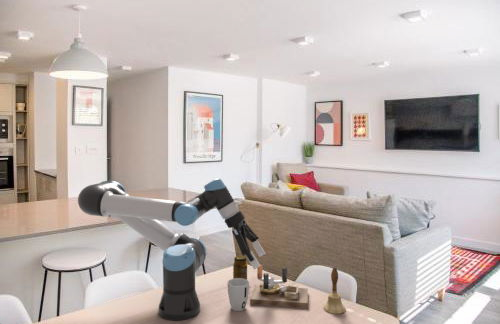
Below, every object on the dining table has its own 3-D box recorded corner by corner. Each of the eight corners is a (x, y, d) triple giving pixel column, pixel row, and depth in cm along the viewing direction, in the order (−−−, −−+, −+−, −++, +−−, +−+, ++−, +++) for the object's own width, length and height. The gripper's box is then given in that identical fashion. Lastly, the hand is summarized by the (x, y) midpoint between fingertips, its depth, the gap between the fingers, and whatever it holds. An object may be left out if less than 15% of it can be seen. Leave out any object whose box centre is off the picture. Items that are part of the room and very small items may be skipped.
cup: (246, 313, 143) (246, 287, 142) (224, 311, 145) (225, 285, 144) (250, 304, 151) (250, 279, 150) (230, 302, 153) (230, 277, 152)
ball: (278, 294, 155) (278, 286, 155) (279, 291, 158) (279, 283, 158) (286, 295, 154) (286, 287, 154) (287, 292, 158) (287, 284, 157)
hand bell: (321, 311, 145) (322, 269, 144) (325, 302, 153) (326, 262, 152) (343, 315, 142) (345, 273, 141) (347, 306, 150) (348, 265, 149)
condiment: (246, 280, 175) (246, 254, 174) (250, 288, 167) (250, 260, 166) (230, 282, 173) (230, 255, 172) (233, 289, 165) (233, 261, 164)
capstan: (289, 299, 150) (289, 275, 150) (258, 299, 150) (258, 275, 149) (285, 286, 163) (285, 263, 162) (257, 286, 163) (257, 264, 162)
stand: (250, 304, 151) (250, 293, 151) (254, 289, 165) (254, 279, 165) (307, 308, 148) (307, 296, 148) (307, 293, 162) (307, 282, 161)
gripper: (232, 217, 140) (263, 268, 140) (245, 203, 165) (272, 246, 165) (215, 227, 142) (246, 278, 142) (231, 212, 166) (257, 254, 166)
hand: (260, 261), depth 153 cm, fingers open, 13 cm apart
